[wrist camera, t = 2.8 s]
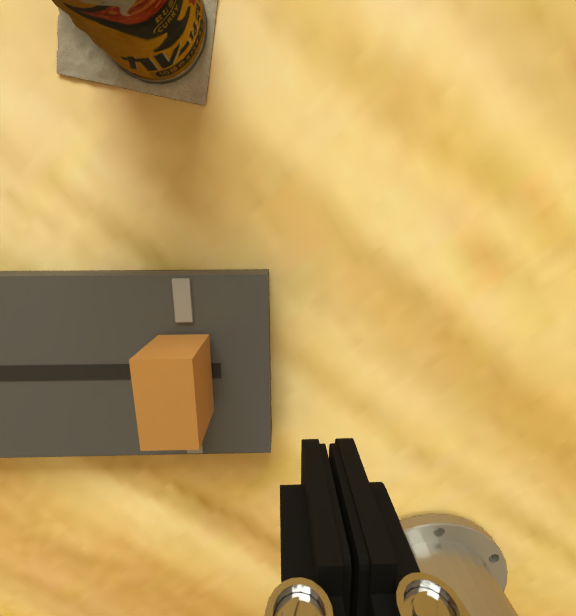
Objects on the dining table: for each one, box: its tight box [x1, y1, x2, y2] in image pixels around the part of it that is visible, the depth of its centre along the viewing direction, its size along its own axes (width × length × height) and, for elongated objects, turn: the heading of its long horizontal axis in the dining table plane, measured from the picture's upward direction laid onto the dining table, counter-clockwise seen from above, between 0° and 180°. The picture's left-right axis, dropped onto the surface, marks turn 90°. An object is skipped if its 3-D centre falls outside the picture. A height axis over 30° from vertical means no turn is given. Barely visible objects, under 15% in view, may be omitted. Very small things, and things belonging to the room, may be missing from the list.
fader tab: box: [129, 334, 214, 451], centre depth 18 cm, size 3×5×4 cm, turn 0°
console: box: [0, 269, 272, 458], centre depth 21 cm, size 26×12×3 cm, turn 90°
